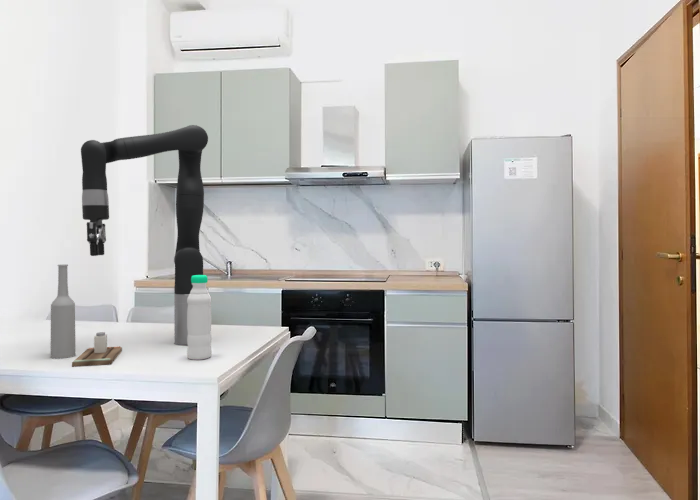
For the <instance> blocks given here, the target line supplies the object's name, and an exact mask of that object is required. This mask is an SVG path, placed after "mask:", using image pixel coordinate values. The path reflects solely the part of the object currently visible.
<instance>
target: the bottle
mask: <svg viewBox="0 0 700 500" xmlns="http://www.w3.org/2000/svg"><path fill="white" fill-rule="evenodd" d="M68 266H69V265H68V264H57V272H58V273H57V274H58V275H57V276H58V277H57V278H58V280H57V282H58V283H57V284H58V285H57V296H56V298H55V299H54V300H53V301H52V302H51V304H50V358H51V359H54V358H55V359H58V360H59V359H68V358H72V357H75V356H76V302H74V300H73V299H72V298H71V296H70V295H69V286H68V284H69V282H68V280H69V279H68Z"/></svg>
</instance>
